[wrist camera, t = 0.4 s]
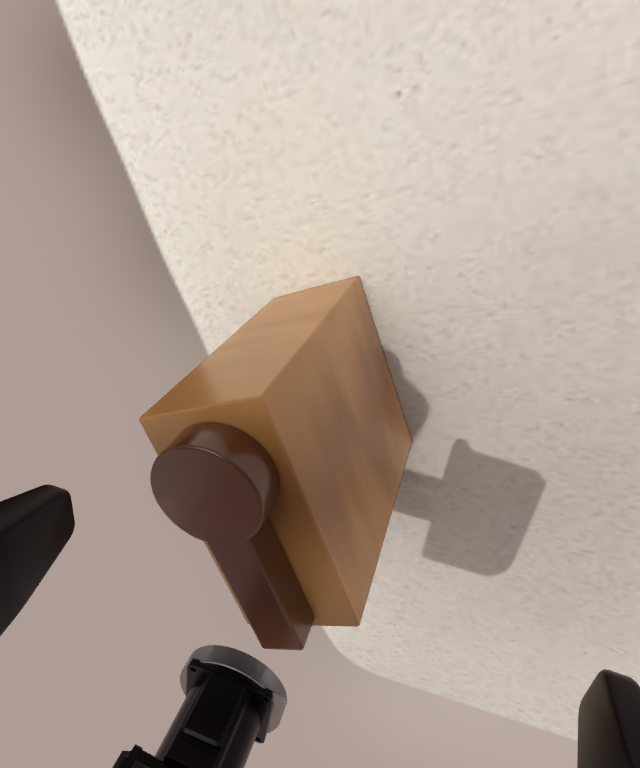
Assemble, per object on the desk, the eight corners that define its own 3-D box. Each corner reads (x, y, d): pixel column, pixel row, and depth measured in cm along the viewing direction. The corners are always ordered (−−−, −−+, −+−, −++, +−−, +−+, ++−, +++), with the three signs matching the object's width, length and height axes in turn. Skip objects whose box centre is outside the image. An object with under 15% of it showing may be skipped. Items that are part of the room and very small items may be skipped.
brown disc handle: (343, 617, 16) (332, 653, 15) (253, 616, 17) (236, 648, 16) (253, 412, 14) (232, 438, 12) (154, 429, 15) (128, 453, 14)
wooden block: (412, 442, 24) (359, 627, 16) (332, 451, 26) (247, 624, 18) (359, 274, 22) (260, 396, 13) (272, 298, 23) (137, 418, 15)
